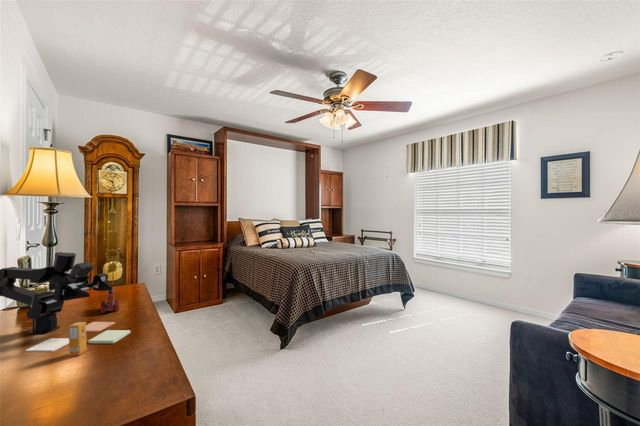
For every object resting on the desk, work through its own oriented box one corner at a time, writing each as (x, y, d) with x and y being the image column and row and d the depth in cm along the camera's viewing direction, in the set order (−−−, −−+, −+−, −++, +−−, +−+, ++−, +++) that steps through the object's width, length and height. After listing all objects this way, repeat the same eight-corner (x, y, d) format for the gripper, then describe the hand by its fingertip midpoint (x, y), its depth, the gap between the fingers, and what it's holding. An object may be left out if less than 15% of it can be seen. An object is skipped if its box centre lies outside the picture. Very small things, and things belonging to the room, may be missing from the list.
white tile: (25, 353, 94) (25, 350, 95) (50, 341, 103) (50, 338, 104) (52, 353, 95) (52, 350, 95) (75, 341, 104) (75, 338, 104)
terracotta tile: (75, 333, 111) (75, 330, 111) (93, 324, 120) (93, 321, 120) (98, 333, 111) (98, 330, 111) (114, 324, 120) (115, 321, 120)
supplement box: (75, 351, 95) (76, 321, 95) (86, 351, 95) (87, 321, 95) (67, 356, 91) (68, 325, 91) (79, 356, 92) (79, 325, 92)
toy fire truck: (100, 315, 128) (100, 292, 128) (100, 308, 138) (100, 287, 138) (119, 312, 132) (119, 290, 132) (118, 305, 142) (118, 285, 142)
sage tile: (88, 343, 101) (88, 340, 101) (106, 332, 110) (107, 330, 110) (113, 343, 101) (113, 340, 101) (130, 332, 110) (130, 330, 110)
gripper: (44, 265, 100) (81, 276, 98) (94, 257, 118) (126, 267, 116) (38, 295, 100) (75, 307, 98) (88, 283, 119) (120, 293, 116)
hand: (101, 292), depth 107 cm, fingers open, 9 cm apart
